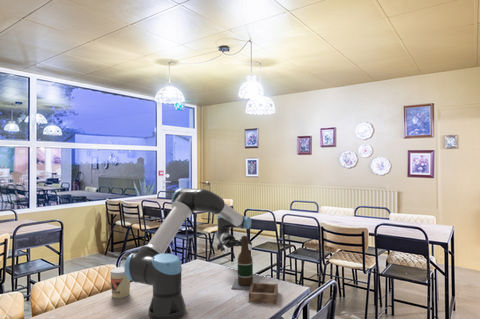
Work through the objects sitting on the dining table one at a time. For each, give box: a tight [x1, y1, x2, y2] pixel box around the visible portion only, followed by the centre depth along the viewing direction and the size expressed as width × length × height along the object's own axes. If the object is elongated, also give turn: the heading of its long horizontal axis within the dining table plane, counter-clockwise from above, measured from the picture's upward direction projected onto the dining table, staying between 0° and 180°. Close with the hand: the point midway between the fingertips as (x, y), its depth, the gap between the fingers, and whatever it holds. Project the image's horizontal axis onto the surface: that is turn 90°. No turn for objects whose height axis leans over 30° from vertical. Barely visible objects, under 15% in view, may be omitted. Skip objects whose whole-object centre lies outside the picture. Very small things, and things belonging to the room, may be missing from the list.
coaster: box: [231, 278, 259, 291], centre depth 160 cm, size 12×12×1 cm
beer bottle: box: [237, 235, 254, 286], centre depth 160 cm, size 8×8×24 cm
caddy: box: [248, 282, 279, 305], centre depth 146 cm, size 12×12×4 cm
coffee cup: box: [109, 266, 131, 299], centre depth 150 cm, size 9×9×12 cm
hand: (239, 249), depth 169 cm, fingers open, 13 cm apart
